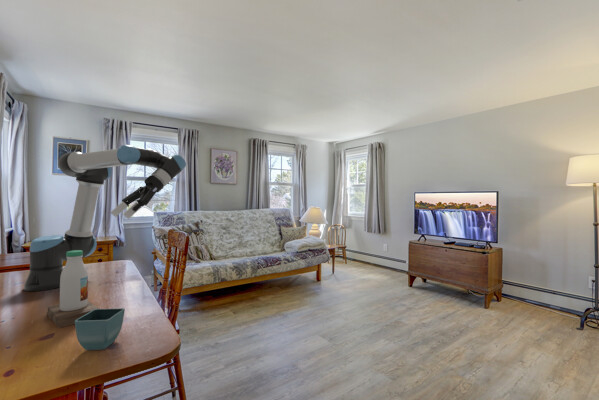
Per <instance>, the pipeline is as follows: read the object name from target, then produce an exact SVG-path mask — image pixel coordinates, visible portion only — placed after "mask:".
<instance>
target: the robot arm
mask: <svg viewBox="0 0 599 400" xmlns="http://www.w3.org/2000/svg"><path fill="white" fill-rule="evenodd" d="M57 165H58V168H59V170H60V171H61V172H62V173H63V174H65V176H69V177H72V178H75V180H76V182H77V184H78V187H77V191H76V196H75V201H74V206H73V212H72V216H71V220H70V226H69V229H68V230H66V231H65V232H64V236H63V235H60V234H56V235H55V234H54V235H53V234H52V235H45V236H41V237H36V238H34V239H32V241H31V242H30V245H29V273H28V275H27V278H26V280H25V282H24V285H23V290H24V291H27V292H39V291H48V290H53V289H57V288H60V277H61V273H62V270H63V269H64V267H63V266H64V264H63V263H64V261H66V262H67V258H66V257H67V256H66V253H67V252H68V251H74V250H82V251H83V257H82V259H83V258H86V257H89V256H91V255H93V253H95V251H96V249H97V246H98V245H97V244H98V243H97V239H96V237H95V236H94V233H93V232H92V231H91V228H92V224H93V219H94V214H95V210H96V205H97V200H98V196H99V191H100V187H101V186H103V185H104V183H105V181H106V180H108V179H109V178H111V176H112V173H113V171H112V170H113V169H112V168H113V167H114V168H115V167H122V166H131V165H132V166H133V165H137V166H144V167H149V168H154V169H155V170H154V172H152V173H151V174H150V175H149V176H147V177H146V178H145V179H144V184H145V185H144V186H139V187H138V188H137V189H136V190H134V191H133V192H131V193H130V194H128V195H127V196H126V197H124V198H123V199H121V202H120V203H119V204H118V205H117V206H115V208H113V209H112V210H111V211H110V212H109V213H110V214H111V215H112V216H113V217H114V218H116V217H118V216H119V215H120V214H121V213H122V212H123V211H124V212H123V214H122V215H124V216H125V217H126V218H127V219H130V218H131V217H132V216H134V215H135V214H136V213H137V212H138V211H140V209H141V208H142V207H144V206H148V204H149V202H150V201H151V200H152V198H153V197H154V196H155V195H156V193H159V192H161V190H163V188H165V187H166V186H167V185H170V182H171V181H172V180H173V179H174V178H175V177H176V176H177V175H179V174H180V173H181V172H183V170H184V169H185V168H186V166H187V162H186V159H184V158H183V157H182V156H181V155H179V154H172V155H171V156H169V155H166V154H163V153H161V152H159V151H158V150H155V149H152V148H147V149H146V148H143V147H138V146H135V145H130V144H122V145H120V146H119V147H118V148H113V149H107V150H106V149H105V150H98V151H90V152H80V151H72V152H66V153H64V154H62V155H61V156H60V157H59V159H58V163H57ZM132 203H133V204H132ZM130 204H132V205H131V206H130ZM129 206H130V207H129ZM126 208H128V209H126ZM125 209H126V210H125Z"/></svg>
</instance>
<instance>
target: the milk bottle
mask: <svg viewBox="0 0 599 400" xmlns="http://www.w3.org/2000/svg"><path fill="white" fill-rule="evenodd" d="M66 256H67V257H66V258H67V260H66V262H65V265H64V267H63V270H62V273H61V277H60V287H59V304H60V310H61V311H74V310H78V309H82V308H84V307H86V306H87V304H88V301H89V299H88V296H89V295H88V293H89V292H88V291H89V290H88V289H89V275H88V274H89V273H88V269H87V268H86V267H87V266H86V265H85V263H84V261H83V258H84V257H83V251H82V250H74V251H68V252H67V253H66ZM82 257H83V258H82Z"/></svg>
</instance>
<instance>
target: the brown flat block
mask: <svg viewBox="0 0 599 400" xmlns="http://www.w3.org/2000/svg"><path fill="white" fill-rule="evenodd" d="M94 309H100V308H99V307H98V306H96V305H95V304H93V303H92V302H91V301H89V300H88V304H87V306H86V307H84V308H82V309H78V310H74V311H61V310H60V303H58V304H55V305H49V306H47V310H46V311H47V313H46V315H47V316H48V317H49V319H50V320H51V321H52V322H53V323H54V324H55V326H56V327H58V328H59V329H60V328H64V327H68V326H72V325H75V320H77V319H78V318H80V317H82V316H84V315H85V314H87V313H89V312H91V311H92V310H94Z"/></svg>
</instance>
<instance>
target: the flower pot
mask: <svg viewBox="0 0 599 400" xmlns="http://www.w3.org/2000/svg"><path fill="white" fill-rule="evenodd" d="M125 311H126V309H125V308H124V307H122V308H119V307H118V308H99V309H94V310H92V311H91V312H89V313H87V314H85V315H84V316H82V317H80V318H78V319H77V320H75V324H74V326H75V332H76V333H75V335H76V339H77V341H78V343H79V345H80V346H81V347H82V348H83V349H84V350H85V351H98V350H99V351H102V350H106V349H107V348H109V346H111V345H112V344H113V343H114V342H115V341H116V339H117V338H118V336H119V335H120V333H121V330H122V327H123V324H124V317H125Z"/></svg>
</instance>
